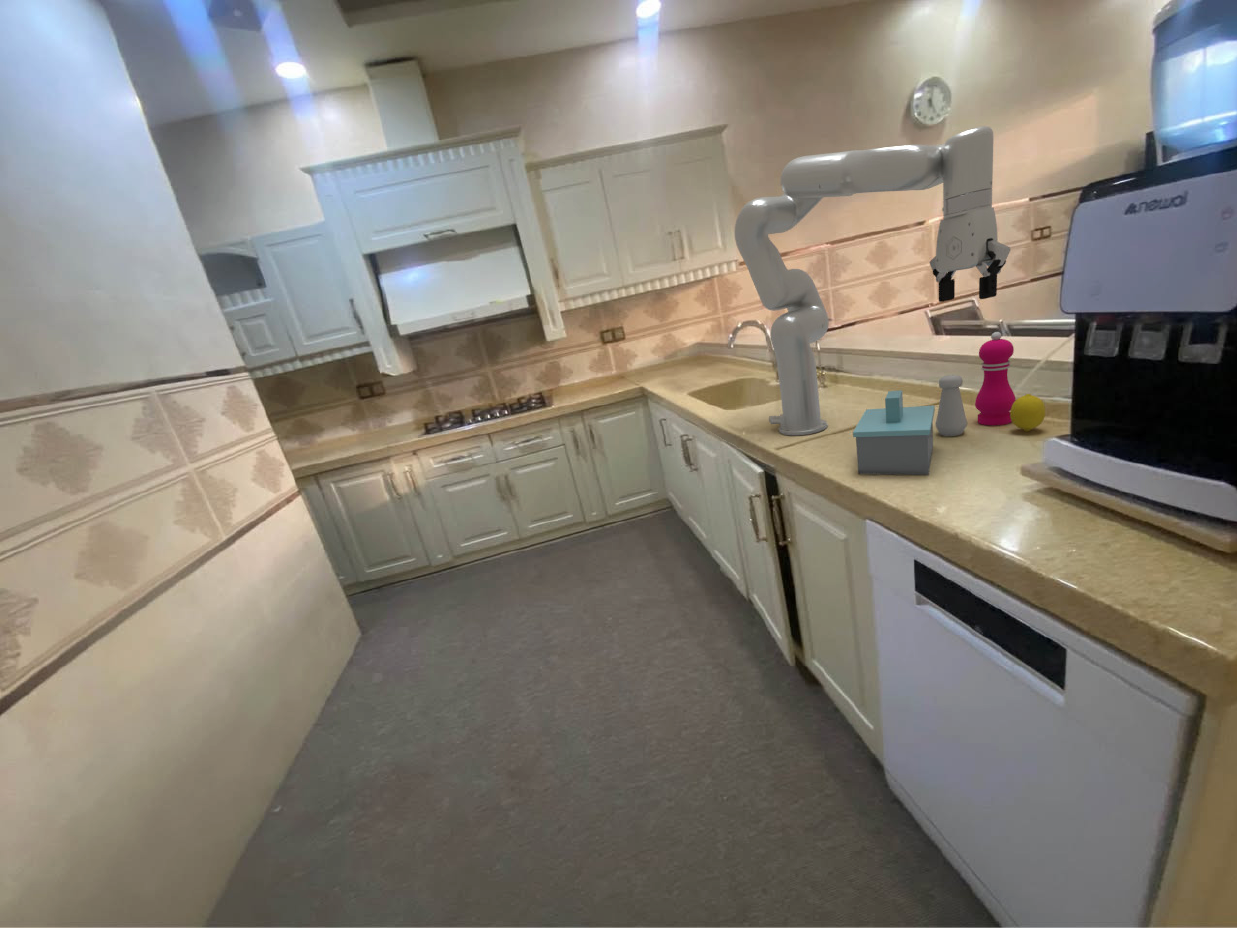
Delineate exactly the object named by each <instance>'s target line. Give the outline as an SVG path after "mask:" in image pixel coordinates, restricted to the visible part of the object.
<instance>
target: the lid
mask: <svg viewBox="0 0 1237 928" xmlns="http://www.w3.org/2000/svg"><path fill="white" fill-rule="evenodd" d="M903 397H904V396H903V390H902V389H901V390H890V391H889V390H888V392H887V393H886V396H885V398H884V403H885V404H884V405H885V408H884V407H883V408H868V409H865V411H864V412H863V414H862V416H861V417H860V419H859V421H858V423H857V424H856V426H855V428H854V430H853V432H852V437H853V438H856V437H877V436H912V435H930V433H931V427H932V422H933V421H934V416H935V411H936V407H935V405H920V406H919V405H916V406H904V399H903Z"/></svg>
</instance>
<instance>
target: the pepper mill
mask: <svg viewBox="0 0 1237 928" xmlns="http://www.w3.org/2000/svg"><path fill="white" fill-rule="evenodd" d="M990 338H991V340H988V341H986V342H984V343H983V344H982V345H981V346H980V348H979V351H978V357H979V359H980V360H982V362H981V370H982V371H983V381H982V385H981V387H980V389H979V391H978V393H977V394H976V398H975V403H974V405H975V406H974V407H975V409H976V410H978V412H979V413H978V414H977V423H978V424H980V425H981V426H982V425H983V426H1003V425H1008V424H1010V423H1012V420H1011V417H1010V411H1011V407H1012V405H1013V403H1014V402H1015V401H1016V400H1017V398H1016V394H1015V392H1014V391H1013V389H1012V388H1011V385H1010V383H1009V377H1008V370H1009V368H1011V364H1010V363H1011V361H1010V360H1009V359H1010V358H1011V357H1012V356H1013V355H1014V352H1015V348H1014V345H1013V343H1012V342H1011V341H1009V340H1007V339H1005V338H1002V333H1001V332H1000V331H995V332H993V333H992V334H991V335H990Z"/></svg>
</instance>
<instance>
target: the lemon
mask: <svg viewBox="0 0 1237 928" xmlns="http://www.w3.org/2000/svg"><path fill="white" fill-rule="evenodd" d="M1045 407H1046V406H1045V403H1044V401H1043V400H1042V399H1041V398H1040V397H1038V396H1036V395H1032V394H1031V393H1026V394H1025V395H1022V396H1020V397H1018V398H1016V401H1015V402H1014V403H1013V405H1012V407H1011V410H1010V411H1009V412H1010V417H1011V420H1012V422H1011V423H1012V424H1013V425H1014V426H1015V427H1017V428H1019V429H1022V430H1023V431H1024V432H1030V431H1031V430H1032V429H1035V428H1037V427H1039V426H1040V425H1042V423H1043V422H1044V421H1045V416H1046V408H1045Z"/></svg>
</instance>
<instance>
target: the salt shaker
mask: <svg viewBox="0 0 1237 928" xmlns="http://www.w3.org/2000/svg"><path fill="white" fill-rule="evenodd" d="M963 382H964V381H963V377H962V376H960V375H955V374H950V375H945V376H942V377H940V378H939V379H938V387H939V388H940V389H941V393H940V398H939V405H938V409H937V410H938V411H937V414H936V420H935V428H936V429H937V431H938V433H939V435H940V436H943V437H959V436H961V435H962V434H963V433H964V432H965V429H966V428H967V424H968V421H967V418H966V412H965V409H964V403H963V399H962V395H961V390H960V388H961V387H962V386H963Z"/></svg>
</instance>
